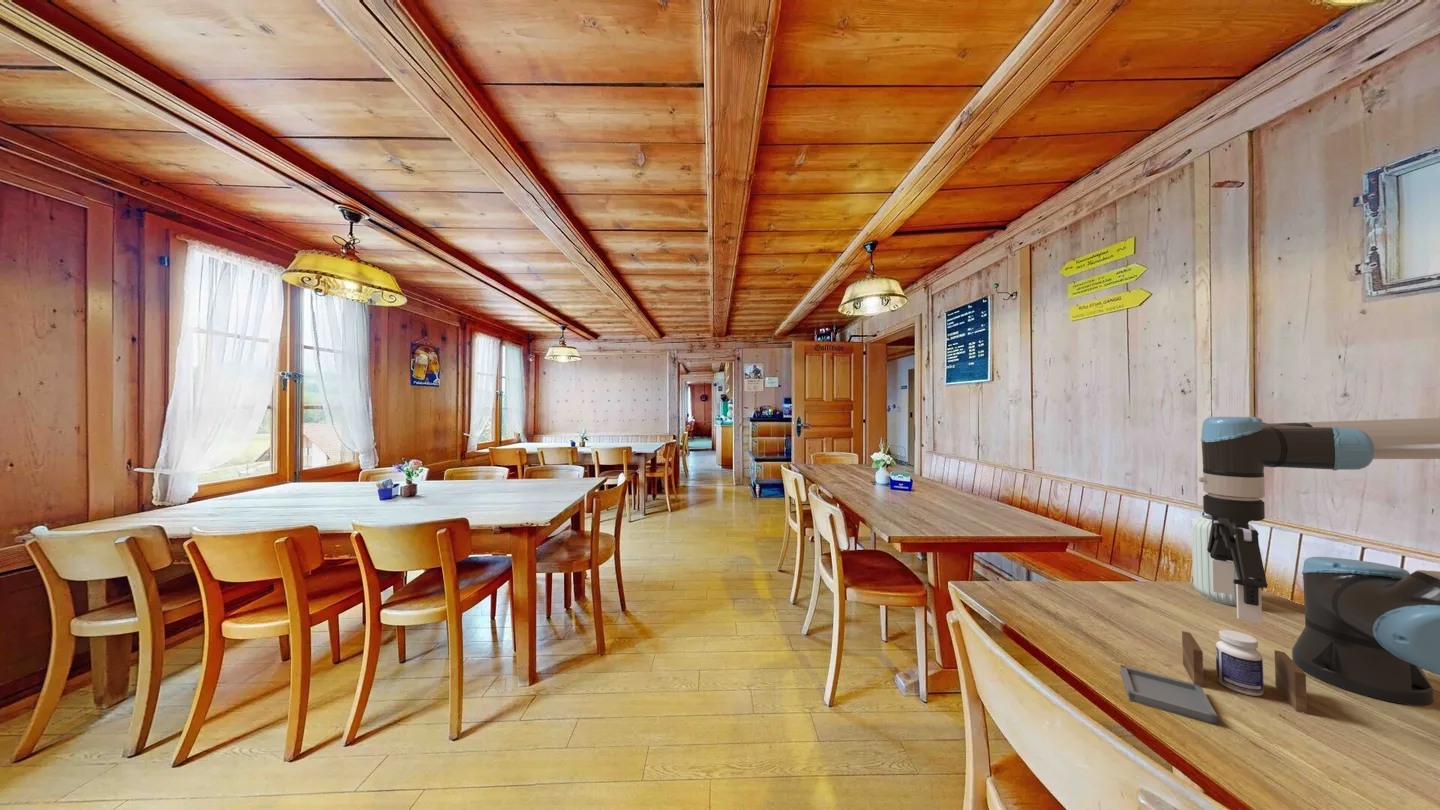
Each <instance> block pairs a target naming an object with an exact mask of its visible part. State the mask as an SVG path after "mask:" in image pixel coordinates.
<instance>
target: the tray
mask: <svg viewBox="0 0 1440 810" xmlns="http://www.w3.org/2000/svg"><path fill="white" fill-rule="evenodd" d="M1120 675H1121V678H1122V680H1123V683H1124V687H1125V690H1126V691H1125V692H1126V693H1127V697H1129V698H1128V701H1130V700H1131V702H1134V701H1135V702H1134V703H1137V702H1138V704H1141V705H1145V706H1148V707H1152V708H1154V709H1155V708H1156V709H1158V710H1161V711H1166V712H1169V713H1172V714H1176V715H1179V716H1182V717H1186V718H1190V719H1193V720H1195V721H1196V720H1197V721H1200V722H1204V723H1207V724H1210V725H1214V726H1217V727H1218V726H1219V716H1218V714H1217V713H1216V711H1215V709H1214V707H1213V706H1212V704H1211V703H1210V700H1209V698H1208V696H1207V695H1206V694H1205V692H1204V690H1203V687H1201V686H1200V685H1198V684H1194V683H1193V682H1189V681H1186V680H1182V679H1179V678H1178V679H1177V678H1173V677H1170V676H1166V675H1163V674H1159V673H1158V674H1157V673H1154V672H1150V671H1146V670H1144V669H1138V668H1135V667H1134V668H1133V667H1130V666H1127V665H1123V664H1120Z"/></svg>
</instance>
